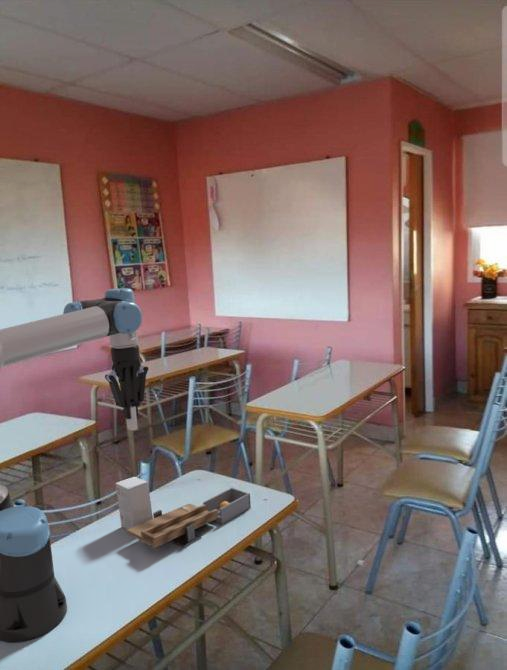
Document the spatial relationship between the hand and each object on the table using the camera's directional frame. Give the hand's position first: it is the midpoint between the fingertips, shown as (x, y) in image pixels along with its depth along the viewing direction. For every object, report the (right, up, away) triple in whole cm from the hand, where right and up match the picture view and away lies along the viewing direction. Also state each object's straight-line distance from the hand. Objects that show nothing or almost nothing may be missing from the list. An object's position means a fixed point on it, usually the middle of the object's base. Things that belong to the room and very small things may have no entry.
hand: (132, 429), depth 153 cm
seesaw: (+12, -25, -3) cm, 28 cm away
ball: (+25, -24, +8) cm, 36 cm away
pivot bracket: (+12, -28, -2) cm, 31 cm away
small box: (+1, -28, +3) cm, 28 cm away
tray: (+26, -26, +9) cm, 38 cm away
